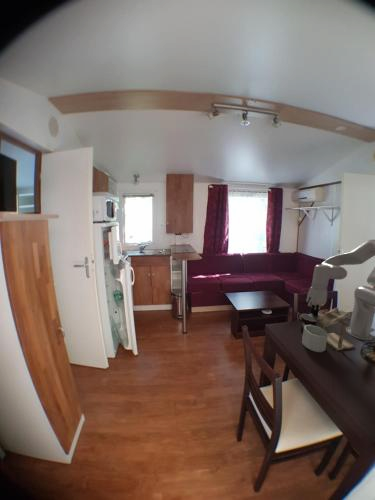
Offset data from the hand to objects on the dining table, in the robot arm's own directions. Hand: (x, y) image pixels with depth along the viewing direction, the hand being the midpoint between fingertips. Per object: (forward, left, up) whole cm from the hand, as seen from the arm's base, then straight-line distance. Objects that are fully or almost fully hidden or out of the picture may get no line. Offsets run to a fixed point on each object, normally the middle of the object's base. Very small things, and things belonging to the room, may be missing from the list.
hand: (314, 314), depth 112 cm
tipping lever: (-7, +5, -3) cm, 9 cm away
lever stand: (-10, +7, -15) cm, 19 cm away
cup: (+6, +7, -15) cm, 17 cm away
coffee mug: (-2, -6, -15) cm, 16 cm away
